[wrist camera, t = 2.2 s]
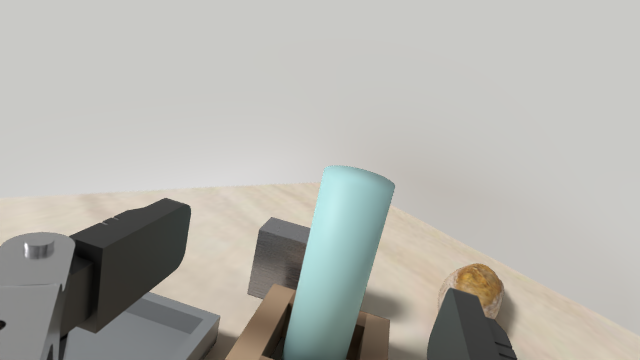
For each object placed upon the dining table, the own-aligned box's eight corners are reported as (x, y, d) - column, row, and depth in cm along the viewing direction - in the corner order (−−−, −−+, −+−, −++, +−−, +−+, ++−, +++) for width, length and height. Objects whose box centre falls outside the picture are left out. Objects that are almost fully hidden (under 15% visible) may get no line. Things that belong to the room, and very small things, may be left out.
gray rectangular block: (260, 276, 35) (271, 217, 34) (344, 303, 34) (360, 243, 32) (247, 293, 32) (259, 229, 31) (338, 323, 31) (356, 258, 30)
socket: (267, 316, 30) (273, 283, 29) (379, 353, 29) (389, 320, 28) (213, 408, 22) (220, 366, 21) (369, 467, 20) (383, 424, 20)
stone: (506, 298, 42) (520, 263, 40) (473, 366, 30) (492, 319, 29) (458, 276, 44) (470, 242, 43) (412, 331, 33) (426, 286, 32)
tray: (82, 295, 28) (83, 269, 27) (216, 341, 27) (220, 315, 26) (-98, 414, 18) (-102, 378, 17) (101, 499, 16) (104, 464, 16)
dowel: (310, 347, 28) (356, 164, 24) (350, 385, 25) (409, 188, 21) (265, 368, 25) (309, 166, 21) (304, 414, 23) (362, 193, 19)
